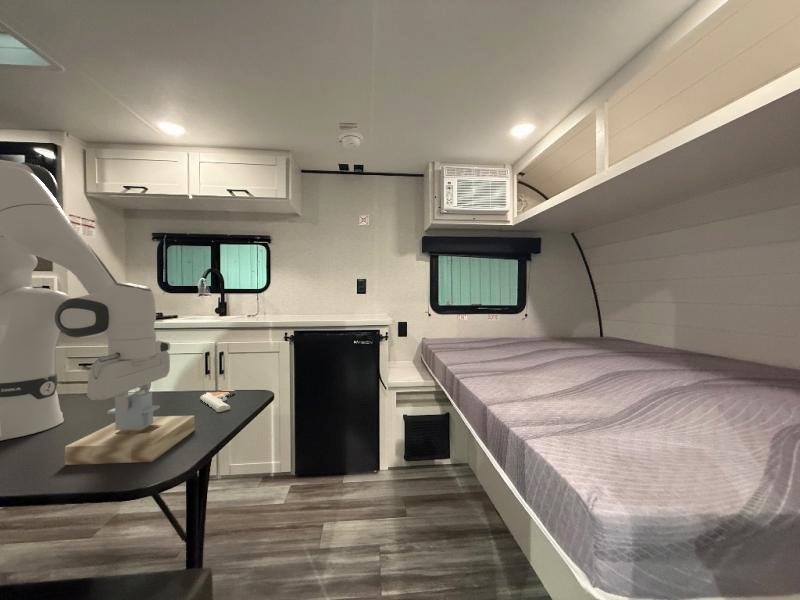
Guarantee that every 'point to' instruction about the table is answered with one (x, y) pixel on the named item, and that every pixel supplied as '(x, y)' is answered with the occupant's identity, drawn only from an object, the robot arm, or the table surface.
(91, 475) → the table surface
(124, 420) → the block
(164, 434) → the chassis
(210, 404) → the pistol
